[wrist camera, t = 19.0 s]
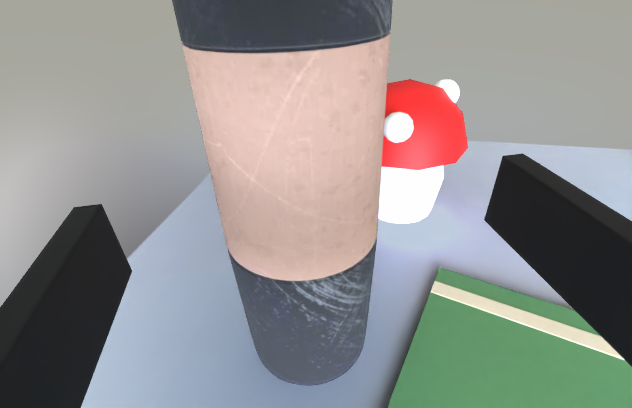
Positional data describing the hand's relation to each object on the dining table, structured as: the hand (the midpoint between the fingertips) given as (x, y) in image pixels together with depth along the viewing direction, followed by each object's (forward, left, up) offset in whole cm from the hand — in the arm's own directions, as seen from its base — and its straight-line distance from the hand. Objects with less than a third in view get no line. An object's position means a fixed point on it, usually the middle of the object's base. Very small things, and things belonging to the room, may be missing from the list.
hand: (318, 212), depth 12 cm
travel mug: (-3, -3, -13) cm, 14 cm away
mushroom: (-21, -3, -13) cm, 24 cm away
